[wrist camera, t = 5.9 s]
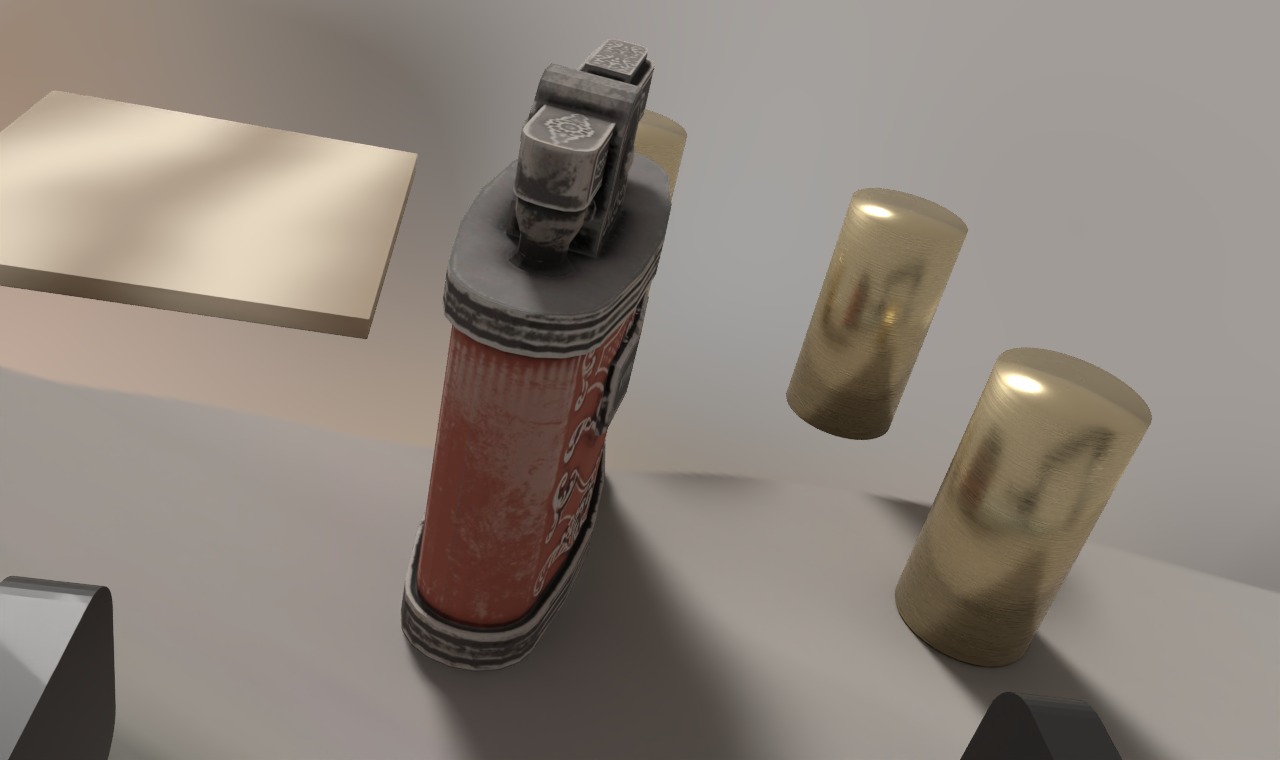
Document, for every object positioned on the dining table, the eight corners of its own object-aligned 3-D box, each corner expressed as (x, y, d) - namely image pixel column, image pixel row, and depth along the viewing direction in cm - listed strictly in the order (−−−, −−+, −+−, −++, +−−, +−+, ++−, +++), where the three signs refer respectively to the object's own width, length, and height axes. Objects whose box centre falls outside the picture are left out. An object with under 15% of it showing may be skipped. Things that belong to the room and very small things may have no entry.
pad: (415, 169, 39) (417, 154, 38) (367, 338, 28) (369, 319, 28) (54, 107, 37) (53, 90, 36) (-137, 265, 26) (-141, 243, 26)
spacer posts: (880, 341, 35) (947, 165, 32) (1049, 673, 23) (1180, 443, 20) (539, 287, 33) (575, 95, 30) (532, 617, 21) (590, 355, 18)
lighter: (540, 692, 20) (661, 177, 15) (361, 640, 20) (420, 112, 15) (621, 452, 27) (723, 46, 22) (488, 415, 27) (558, 3, 22)
